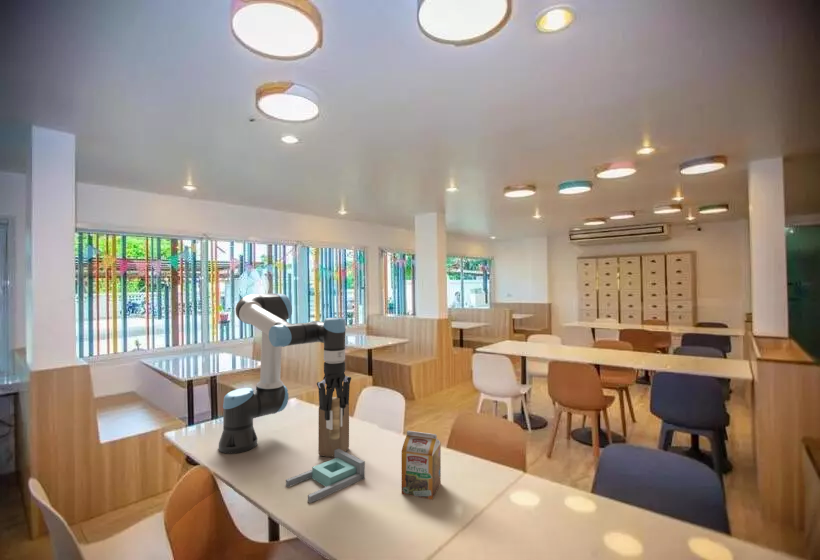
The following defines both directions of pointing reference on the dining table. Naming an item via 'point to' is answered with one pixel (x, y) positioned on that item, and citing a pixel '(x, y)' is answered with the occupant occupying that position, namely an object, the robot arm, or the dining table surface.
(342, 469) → the teal square ring
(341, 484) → the track
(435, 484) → the milk carton
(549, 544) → the dining table surface
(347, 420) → the block
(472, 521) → the dining table surface
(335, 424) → the dowel
